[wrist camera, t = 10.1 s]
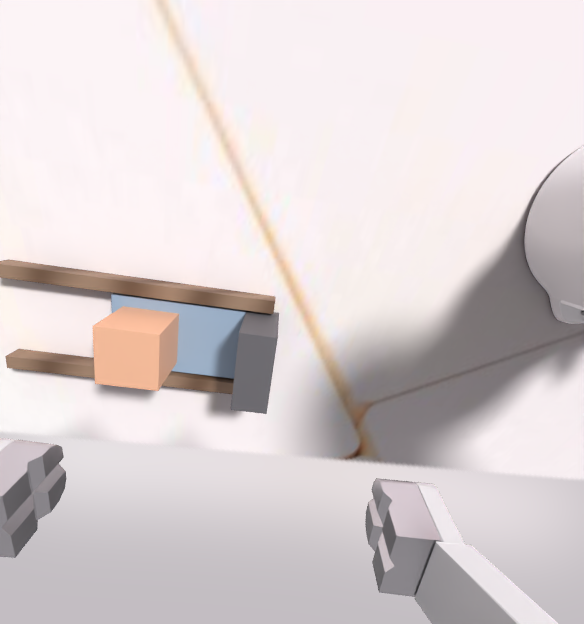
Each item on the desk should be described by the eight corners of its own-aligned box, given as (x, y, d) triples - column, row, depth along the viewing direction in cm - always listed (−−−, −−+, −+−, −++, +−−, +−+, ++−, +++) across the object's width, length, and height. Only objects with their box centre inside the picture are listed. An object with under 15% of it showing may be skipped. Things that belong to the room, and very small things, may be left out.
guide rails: (275, 296, 31) (274, 301, 30) (262, 388, 34) (261, 397, 33) (7, 259, 30) (-7, 262, 28) (19, 359, 33) (7, 367, 31)
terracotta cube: (179, 313, 30) (159, 334, 25) (176, 362, 32) (158, 390, 27) (123, 306, 30) (92, 326, 25) (123, 355, 31) (95, 383, 27)
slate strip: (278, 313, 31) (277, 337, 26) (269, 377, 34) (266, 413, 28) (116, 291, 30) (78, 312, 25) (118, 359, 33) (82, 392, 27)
